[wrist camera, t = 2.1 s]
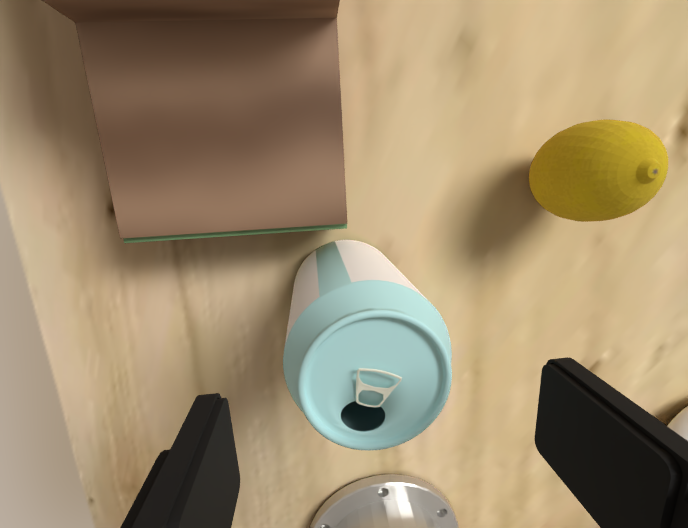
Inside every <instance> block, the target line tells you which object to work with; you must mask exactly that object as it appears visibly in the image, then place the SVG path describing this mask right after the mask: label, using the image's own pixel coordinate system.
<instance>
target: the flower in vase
mask: <svg viewBox="0 0 688 528" xmlns="http://www.w3.org/2000/svg"><path fill="white" fill-rule="evenodd" d="M668 427H669V428H670V429H672V430H673V431H675V432H676V433H677V434H679V435H680V436H682V437H683V438H684V439H686V440H687V441H688V406H687V407H686V408H684V409H683V410H682V411H681V412H680V413H679V414H677V415H676V417H675V418H674V419H673V420H672V421H671V422H670V423H669V424H668Z"/></svg>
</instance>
